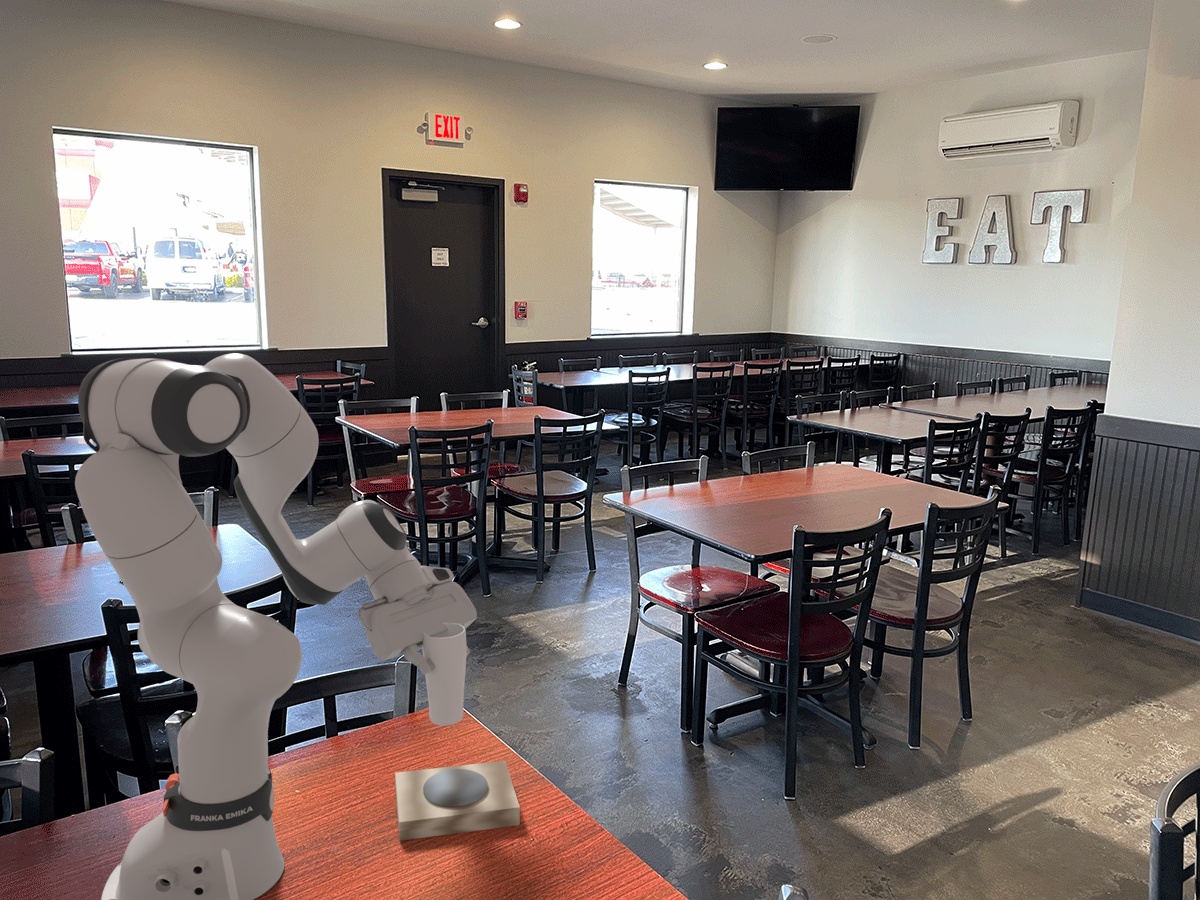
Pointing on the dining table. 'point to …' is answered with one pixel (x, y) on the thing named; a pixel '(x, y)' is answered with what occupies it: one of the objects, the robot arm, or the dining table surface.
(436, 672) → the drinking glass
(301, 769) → the dining table surface
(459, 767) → the block
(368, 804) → the dining table surface
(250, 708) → the robot arm
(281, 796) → the dining table surface
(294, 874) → the dining table surface
